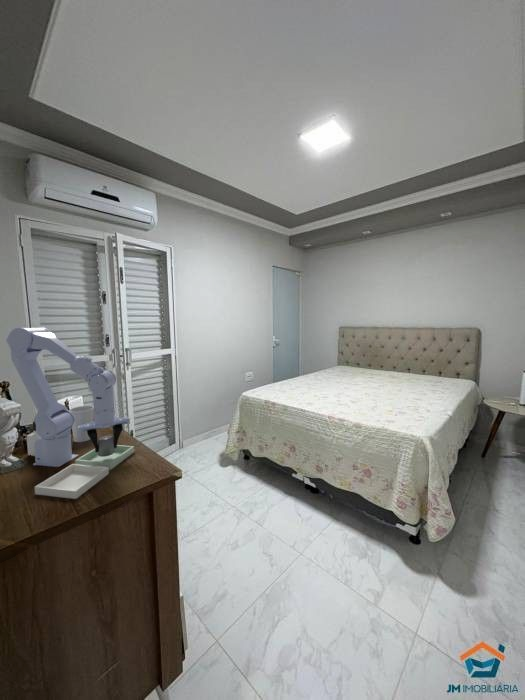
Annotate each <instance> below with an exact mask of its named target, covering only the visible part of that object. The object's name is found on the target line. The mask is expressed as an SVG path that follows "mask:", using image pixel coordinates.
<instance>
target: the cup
mask: <svg viewBox="0 0 525 700" xmlns="http://www.w3.org/2000/svg"><path fill="white" fill-rule="evenodd" d="M68 411H70V412H71V413H72V414H73V415H74V418H75V422H74V424H73V426H72V427H71V431H72V436H73V442H75V443H83V442H87V441H90V440H91V439H90V437H89V436H88V433H87V431H86V432H83V433H78V426H79V425H84V424H88V423H91V422H94V405H81V406H76V407H72V408H70V409H68Z"/></svg>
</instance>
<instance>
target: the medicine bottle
mask: <svg viewBox="0 0 525 700" xmlns="http://www.w3.org/2000/svg"><path fill="white" fill-rule="evenodd" d="M32 429H33V432H32V433H29V434H27V435H26V445H27V455H28V456H30V455H31V457H35V447H34V445H35V441H36V439H37V438H38V437H39V435H38V434H37V432H36V424H35V421H34V420H33V422H32Z"/></svg>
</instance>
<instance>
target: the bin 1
mask: <svg viewBox="0 0 525 700" xmlns="http://www.w3.org/2000/svg"><path fill="white" fill-rule="evenodd" d="M109 472H110V470H109V467H101V466H91V465H80V464H75V463H71V464H70V465H68V466H67V467H65V468H63V469H62V470H60V471H59V472H57V473H55V474H54V475H51V476H49V477H48V478H47V479H45V480H43V481H42V482H40V483H38V484H37V485H35V486H34V495H37V496H47V497H56V498H65V499H70V500H71V499H72V500H77V499H78V498H80V497H81V496H82V495H83V494H84V493H86V492H87V491H88V490H89V489H91V488H92V487H94V486H95V485H96V484H97V483H99V482H100V481H101V480H103V479H104V478H105V477H107V476H108V475H109Z"/></svg>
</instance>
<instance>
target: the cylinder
mask: <svg viewBox="0 0 525 700" xmlns="http://www.w3.org/2000/svg"><path fill="white" fill-rule="evenodd" d="M97 444H98V456H100V457H105V456H109V455H112V454H113V453H114V437H113V435H104V436H101V437H99V438H97Z"/></svg>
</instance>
